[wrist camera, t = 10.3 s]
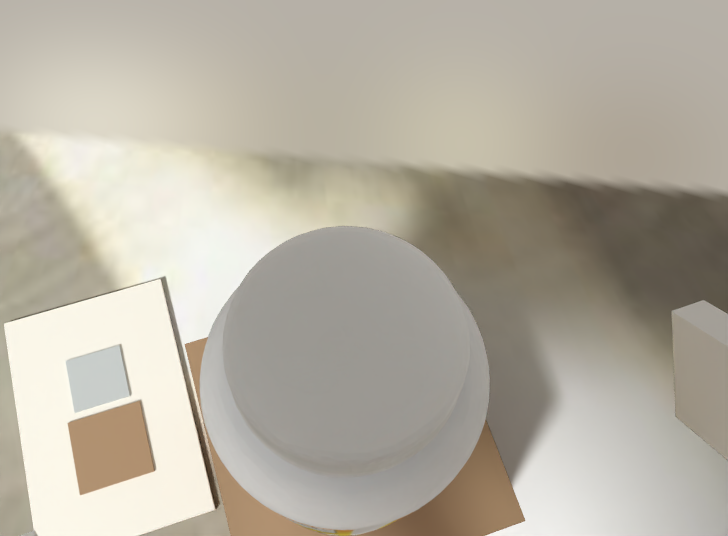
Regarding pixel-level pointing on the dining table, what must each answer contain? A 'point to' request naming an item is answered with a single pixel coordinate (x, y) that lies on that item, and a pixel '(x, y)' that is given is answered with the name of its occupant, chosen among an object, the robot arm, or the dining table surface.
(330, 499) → the supplement bottle
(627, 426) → the dining table surface
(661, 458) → the dining table surface
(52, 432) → the page
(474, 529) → the base block
